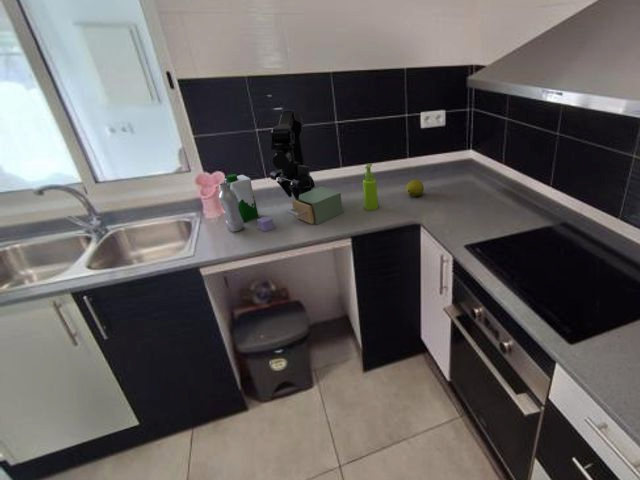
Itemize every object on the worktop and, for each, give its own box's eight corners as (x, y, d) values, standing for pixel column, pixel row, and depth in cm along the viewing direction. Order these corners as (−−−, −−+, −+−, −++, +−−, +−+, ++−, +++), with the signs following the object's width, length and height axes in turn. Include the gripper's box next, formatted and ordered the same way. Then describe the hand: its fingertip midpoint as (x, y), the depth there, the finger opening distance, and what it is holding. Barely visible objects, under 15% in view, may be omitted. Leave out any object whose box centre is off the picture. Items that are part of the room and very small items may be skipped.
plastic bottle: (248, 227, 159) (237, 181, 149) (237, 234, 153) (224, 188, 143) (236, 224, 160) (224, 180, 151) (224, 232, 155) (210, 186, 145)
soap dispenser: (379, 204, 178) (376, 162, 168) (376, 210, 171) (373, 168, 162) (367, 203, 178) (363, 162, 168) (363, 210, 172) (360, 167, 162)
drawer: (302, 228, 155) (299, 210, 152) (286, 220, 161) (282, 204, 158) (336, 212, 168) (334, 196, 164) (319, 206, 174) (316, 190, 170)
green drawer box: (317, 224, 160) (313, 203, 155) (298, 216, 167) (294, 196, 162) (342, 212, 170) (340, 192, 166) (324, 205, 177) (321, 186, 172)
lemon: (415, 190, 192) (415, 175, 188) (427, 194, 187) (427, 179, 183) (401, 197, 184) (400, 182, 180) (413, 201, 180) (413, 185, 176)
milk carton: (232, 217, 166) (220, 174, 157) (252, 211, 172) (242, 169, 163) (241, 223, 161) (229, 179, 152) (262, 216, 167) (251, 173, 157)
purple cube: (259, 228, 157) (257, 219, 155) (268, 225, 160) (266, 216, 158) (265, 231, 155) (262, 222, 153) (274, 227, 158) (272, 218, 156)
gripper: (319, 160, 147) (324, 197, 155) (289, 152, 157) (296, 187, 165) (295, 167, 140) (302, 206, 147) (265, 158, 150) (273, 195, 157)
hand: (293, 198), depth 154 cm, fingers open, 4 cm apart
